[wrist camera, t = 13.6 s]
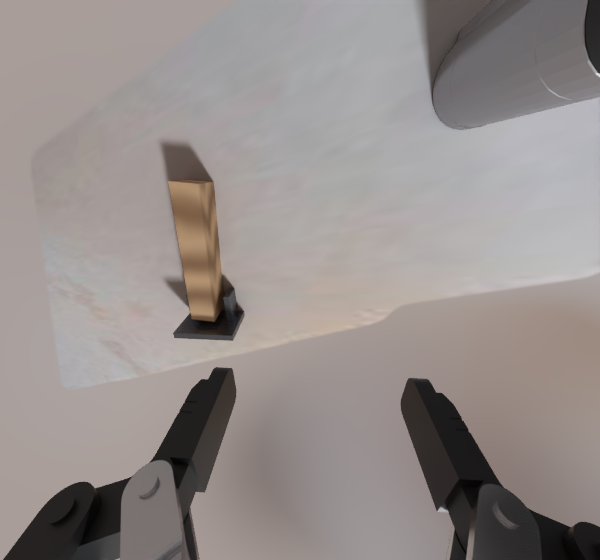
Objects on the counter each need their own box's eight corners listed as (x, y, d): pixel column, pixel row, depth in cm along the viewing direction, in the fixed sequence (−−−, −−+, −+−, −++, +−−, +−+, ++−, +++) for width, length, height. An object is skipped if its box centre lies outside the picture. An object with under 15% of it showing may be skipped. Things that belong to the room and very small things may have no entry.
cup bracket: (187, 286, 41) (165, 308, 35) (241, 288, 41) (228, 310, 35) (194, 313, 44) (174, 337, 38) (244, 315, 44) (232, 340, 37)
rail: (187, 179, 33) (168, 181, 29) (214, 181, 33) (198, 183, 29) (204, 303, 43) (191, 319, 39) (224, 305, 43) (214, 321, 39)
